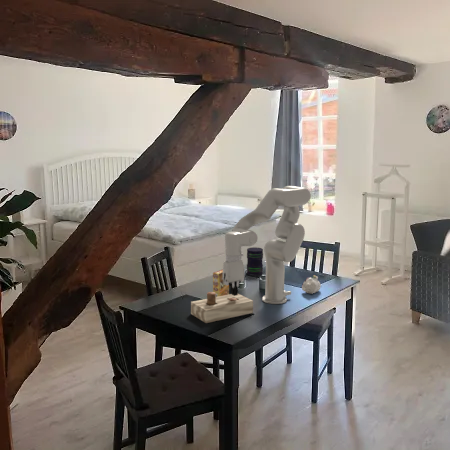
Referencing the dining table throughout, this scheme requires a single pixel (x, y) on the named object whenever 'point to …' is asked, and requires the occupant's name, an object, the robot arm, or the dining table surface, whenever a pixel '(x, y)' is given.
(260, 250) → the storage jar
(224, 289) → the candy box
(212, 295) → the peg
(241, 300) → the birch block
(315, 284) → the cream lumpy bulb
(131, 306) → the dining table surface
